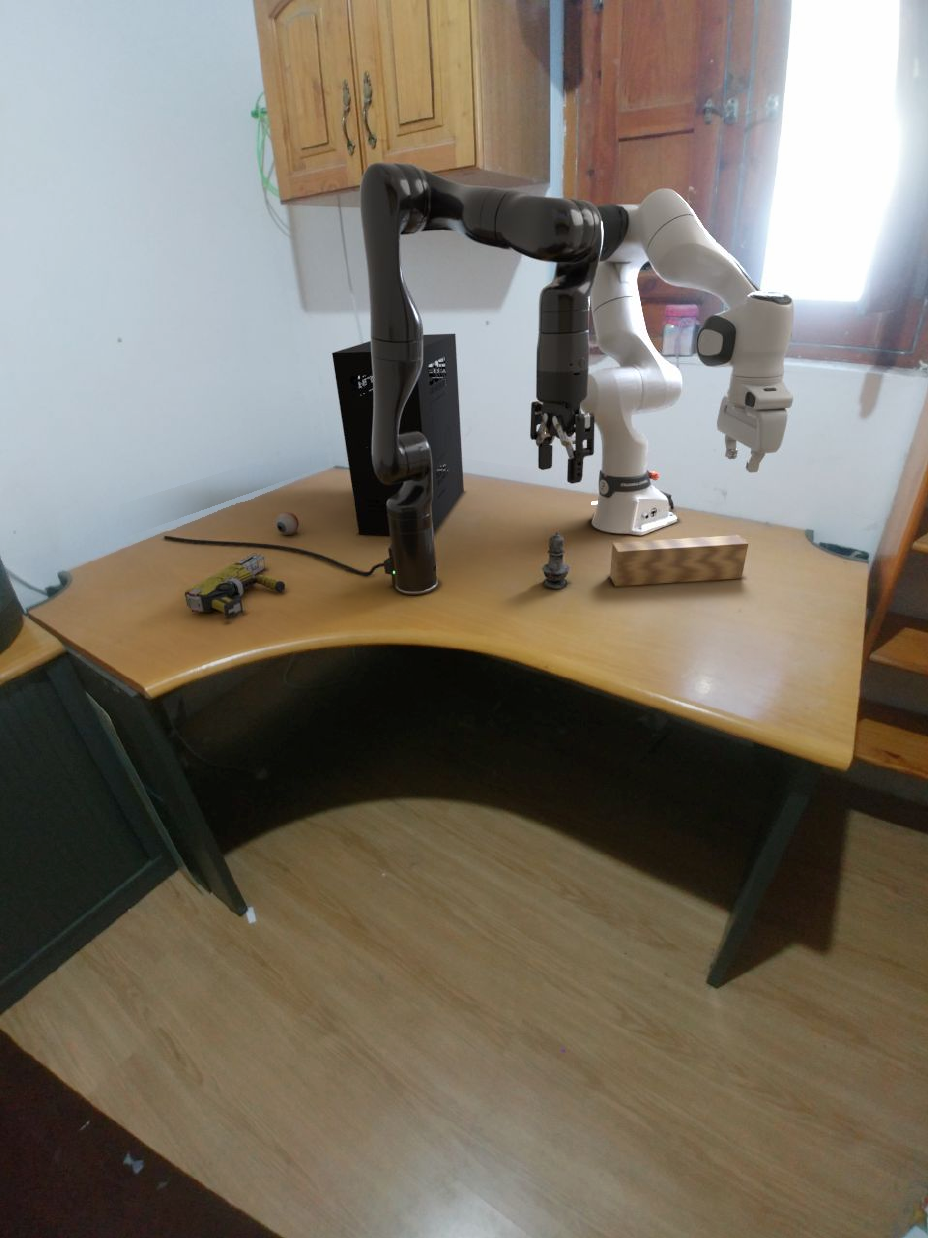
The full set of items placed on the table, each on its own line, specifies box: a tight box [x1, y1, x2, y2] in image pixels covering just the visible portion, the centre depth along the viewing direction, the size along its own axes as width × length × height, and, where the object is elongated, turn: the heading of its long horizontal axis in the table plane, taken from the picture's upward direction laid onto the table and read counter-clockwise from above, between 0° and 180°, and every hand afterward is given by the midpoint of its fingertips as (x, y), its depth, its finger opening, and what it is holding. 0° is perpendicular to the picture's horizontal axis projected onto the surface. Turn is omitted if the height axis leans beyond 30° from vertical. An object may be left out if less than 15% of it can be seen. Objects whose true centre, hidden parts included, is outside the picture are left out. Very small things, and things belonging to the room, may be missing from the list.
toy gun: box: [184, 552, 286, 620], centre depth 134 cm, size 5×24×15 cm
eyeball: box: [275, 511, 300, 536], centre depth 163 cm, size 6×6×6 cm
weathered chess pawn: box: [541, 530, 570, 589], centre depth 128 cm, size 6×6×12 cm
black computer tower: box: [331, 333, 465, 536], centre depth 165 cm, size 38×20×45 cm, turn 167°
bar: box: [609, 534, 749, 587], centre depth 129 cm, size 27×5×8 cm, turn 92°
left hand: (559, 475), depth 96 cm, fingers open, 8 cm apart
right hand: (740, 464), depth 119 cm, fingers open, 8 cm apart
